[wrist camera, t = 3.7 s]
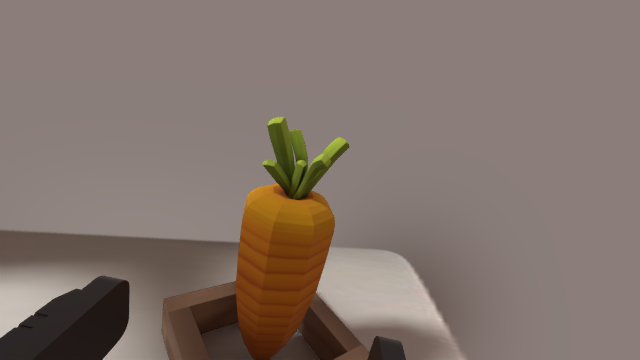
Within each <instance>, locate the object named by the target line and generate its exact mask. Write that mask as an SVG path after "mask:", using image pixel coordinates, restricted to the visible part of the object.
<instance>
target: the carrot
mask: <svg viewBox="0 0 640 360" xmlns="http://www.w3.org/2000/svg"><path fill="white" fill-rule="evenodd" d="M268 130H269V135H270V139H271V142H272V145H273V148H274V152H275V155H276V159H277V162H276V161H273V160H266V161H264V162H263V166H264V167H265V168H266V169H267V171H268V172H269V173H270V174H271V176H272V177H273V178H274V179H275V181H276V182H277V184H273V185H268V186H263V187H259V188H256V189H254V190H253V191H251V192H250V193H249V195H248V197H247V199H246V203H245V208H244V214H243V219H242V227H241V236H240V244H239V253H238V265H237V277H236V299H237V313H238V322H239V329H240V332H241V335H242V338H243V341H244V344H245V346H246V347H247V349H248V351H249V353H250V354H251V356H252V358H253V359H254V360H269V359H270V358H272V357H273V356H274V355H275V354H276V353H277V352H278V351H279V350H280V349H281V348H282V347H283V346H284V345H285V344H286V343H287V342H288V341H289V339H290V338H291V337H292V335H293V334H294V333H295V332H296V330H297V329H298V327H299V325H300V323H301V321H302V319H303V317H304V316H305V314H306V312H307V310H308V307H309V305H310V303H311V301H312V299H313V297H314V295H315V292H316V290H317V287H318V284H319V281H320V277H321V274H322V271H323V268H324V265H325V261H326V258H327V254H328V251H329V247H330V244H331V240H332V236H333V233H334V227H335V220H334V215H333V213H332V211H331V209H330V207H329V205H328V203H327V201H326V200H325V198H324V197H323V196H322V195H320V194H318V193H316V192H314V191H312V188H313V187H314V186H315V185H316V184H317V182H318V181H319V180H320V179H321V177H322V176H323V175H324V174H325V173H326V171H327V170H328V169H329V168H330V167H331V166H332V165H333V163H334V162H335V161H336V160H337V159H338V158H339V157H340V156H341V155H342V154H343V153H344V152H345V151H346V150H347V149H348V148H349V144H348V143H347V141H346V140H344V139H342V138H340V137H339V138H337V139H336V140H334V141H333V142H332V143H331V144H330V145H329V146H328V147H327V148H326V149H325V150H324V151H323V153H322V154H321V155H320V156H318V157H316V158H315V159H314V160H313V162H312V163H311V165H310V167H309V169H308V167H307V166H308V156H307V152H306V145H305V141H304V138H303V135H302V132H301V130H296V129H294V130H291V131H289V130H288V126H287V122H286V118H285V117H275V118H274V119H272V120H271V121H269V123H268ZM291 143H292V144H291ZM292 146H293V150H294V154H295V158H296V166H295V165H294V157H293V150H292ZM307 169H308V170H307Z"/></svg>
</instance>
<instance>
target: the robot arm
mask: <svg viewBox="0 0 640 360" xmlns="http://www.w3.org/2000/svg"><path fill="white" fill-rule="evenodd" d="M128 320H129V283H128V281H126V280H121V279H117V278H112V277H107V276H99V277H97V278H96V279H95V280H93V281H92V282H91V283H90V284H88V285H87V286H86V287H84V288H83V289H82V290H80V289H75V290H72V291H70V292H68V293H66V294H63V295H61V296H59V297H57V298H55V299H53V300H52V301H50V302H49V303H47V304H46V305H45V306H43V307H42V308H41V309H39V310H38V311H37V312H35V314H34V315H33V316H32V315H31V316H30V317H28V318H27V319H26V320H24V321H23V322H22V323H20V324H19V326H18V327H17V328H13V329H12V330H11V331H9V332H8V333H7V334H5V335H4V336H3V337H1V338H0V360H102V359H103V358H104V357H105V356H106V355H107V354H108V352H109V351H110V350H111V349H112V348H113V347H114V346H115V344H116V343H117V342H118V341H119V340H120V338H121V337H122V335H123V334H124V332H125V330H126V327H127V324H128ZM367 360H406V358H405V354H404V350H403V346H402V344H401V342H400V341H397V340H392V339H388V338H383V337H379V336H376V337H375V339H374V341H373V344H372V347H371V350H370V353H369V356H368V359H367Z"/></svg>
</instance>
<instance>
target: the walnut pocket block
mask: <svg viewBox="0 0 640 360" xmlns="http://www.w3.org/2000/svg"><path fill="white" fill-rule="evenodd" d="M237 321H238V313H237V299H236V281H235V282H231V283H227V284H223V285H219V286H215V287H211V288H206V289H202V290H198V291H194V292H190V293H186V294H182V295H178V296H174V297H170V298H166V299H164V302H163V318H162V334H163V337H164V341H165V345H166V349H167V352H168V356H169V360H211V359H210V357H209V354H208V352H207V349H206V347H205V344H204V342H203V339H202V337H201V333H204V332H207V331H210V330H213V329H216V328H219V327H222V326H225V325H228V324H231V323H234V322H237ZM298 329H299V331H300V332H301V333H302V335H303V336H304V337H305V339H306V340H307V342H308V343H309V344H310V346H311V347H312V348H313V350H314V351H315V352H316V354H317V355H318V356H319V358H320V359H321V360H367V359H368V356H369V352H368V350H367V349H366V348H365V347H364V346H363V345H362V344H361V343H360V342H359V341H358V339H357V338H356V337H355V336H354V335H353V334H352V333H351V332H350V331H349V329H348V328H347V327H346V326H345V325H344V324H343V323H342V322H341V321H340V320H339V318H338V317H337V316H336V315H335V314H334V313H333V312H332V311H331V310H330V308H329V307H328V306H327V305H326V304H325V303H324V302H323V301H322V300H321V299H320V297H319V296H318V295H317V294H316V293H315V295H314V297H313V299H312V301H311V303H310V305H309V307H308V310H307V312H306V314H305V316H304V317H303V319H302V321H301V323H300V325H299V327H298Z"/></svg>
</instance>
